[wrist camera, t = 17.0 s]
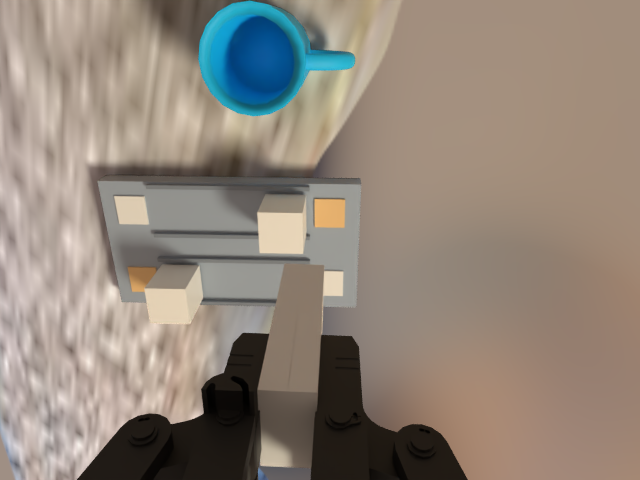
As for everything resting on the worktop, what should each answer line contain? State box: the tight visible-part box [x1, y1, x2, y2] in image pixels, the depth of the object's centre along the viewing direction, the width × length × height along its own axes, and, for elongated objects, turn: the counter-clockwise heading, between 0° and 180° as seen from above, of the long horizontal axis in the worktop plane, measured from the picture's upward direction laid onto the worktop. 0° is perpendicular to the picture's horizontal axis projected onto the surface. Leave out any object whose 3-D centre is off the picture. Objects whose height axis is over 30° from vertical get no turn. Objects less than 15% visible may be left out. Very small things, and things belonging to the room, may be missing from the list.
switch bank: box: [97, 175, 361, 307], centre depth 49 cm, size 14×26×2 cm, turn 90°
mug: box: [198, 1, 355, 116], centre depth 39 cm, size 12×8×8 cm
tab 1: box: [144, 264, 203, 324], centre depth 48 cm, size 4×4×5 cm
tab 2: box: [257, 194, 307, 254], centre depth 44 cm, size 4×4×5 cm
